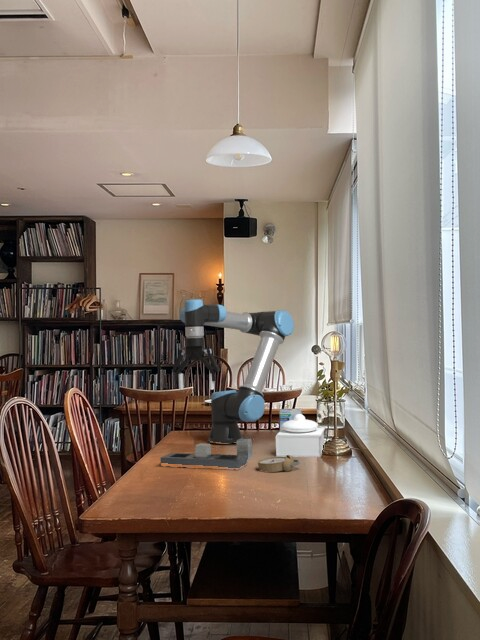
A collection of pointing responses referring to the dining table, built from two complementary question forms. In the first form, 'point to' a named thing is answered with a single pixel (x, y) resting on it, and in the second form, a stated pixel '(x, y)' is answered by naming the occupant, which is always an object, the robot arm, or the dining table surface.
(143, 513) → the dining table surface
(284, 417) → the light bulb box
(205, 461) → the grey metal flat frame
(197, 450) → the grey rectangular block
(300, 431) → the white box with dome
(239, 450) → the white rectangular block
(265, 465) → the alarm clock
